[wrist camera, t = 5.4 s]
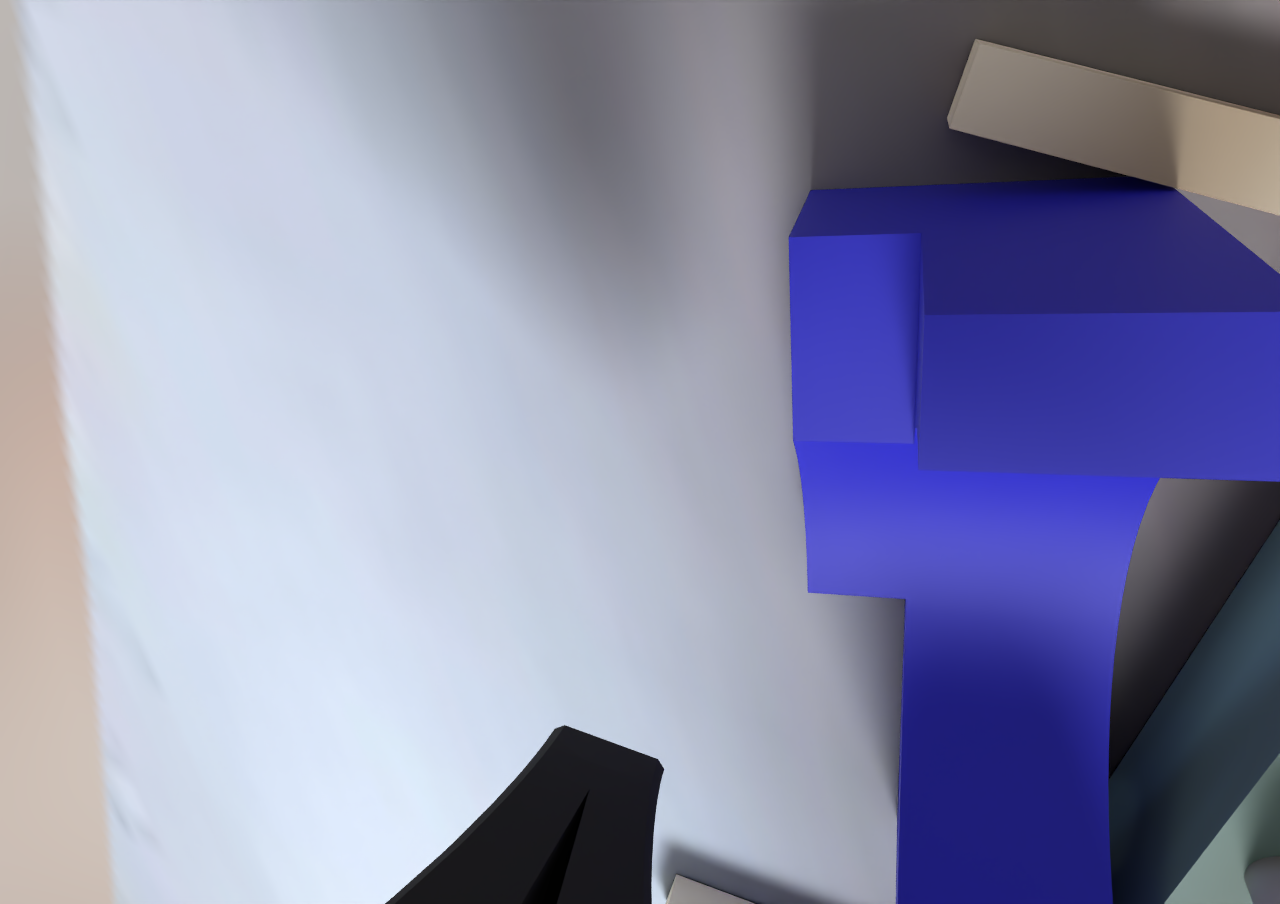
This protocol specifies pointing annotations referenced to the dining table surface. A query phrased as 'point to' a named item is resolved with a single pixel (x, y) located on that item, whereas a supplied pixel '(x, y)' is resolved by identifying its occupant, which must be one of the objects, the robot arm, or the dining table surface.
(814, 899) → the dining table surface
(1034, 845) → the cable clip
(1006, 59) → the pin bay
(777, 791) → the dining table surface
